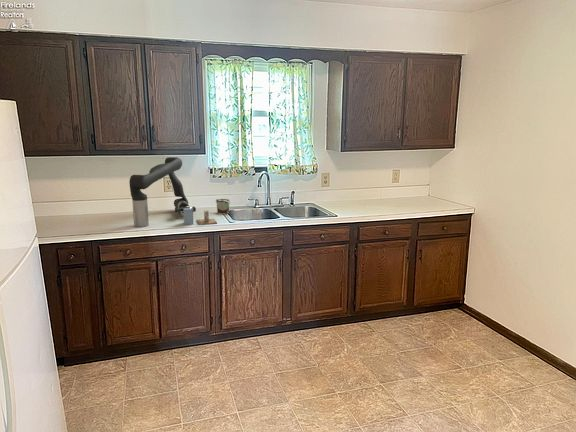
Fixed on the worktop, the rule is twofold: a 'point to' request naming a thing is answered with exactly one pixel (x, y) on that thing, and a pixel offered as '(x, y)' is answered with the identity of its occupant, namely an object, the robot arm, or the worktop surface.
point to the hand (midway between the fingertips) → (186, 211)
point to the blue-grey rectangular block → (188, 216)
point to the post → (206, 219)
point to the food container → (223, 205)
